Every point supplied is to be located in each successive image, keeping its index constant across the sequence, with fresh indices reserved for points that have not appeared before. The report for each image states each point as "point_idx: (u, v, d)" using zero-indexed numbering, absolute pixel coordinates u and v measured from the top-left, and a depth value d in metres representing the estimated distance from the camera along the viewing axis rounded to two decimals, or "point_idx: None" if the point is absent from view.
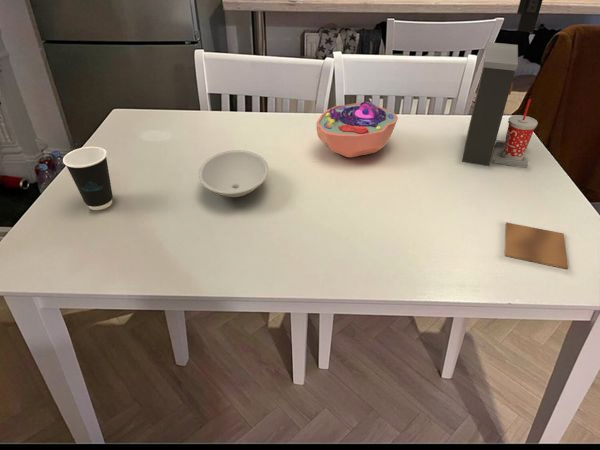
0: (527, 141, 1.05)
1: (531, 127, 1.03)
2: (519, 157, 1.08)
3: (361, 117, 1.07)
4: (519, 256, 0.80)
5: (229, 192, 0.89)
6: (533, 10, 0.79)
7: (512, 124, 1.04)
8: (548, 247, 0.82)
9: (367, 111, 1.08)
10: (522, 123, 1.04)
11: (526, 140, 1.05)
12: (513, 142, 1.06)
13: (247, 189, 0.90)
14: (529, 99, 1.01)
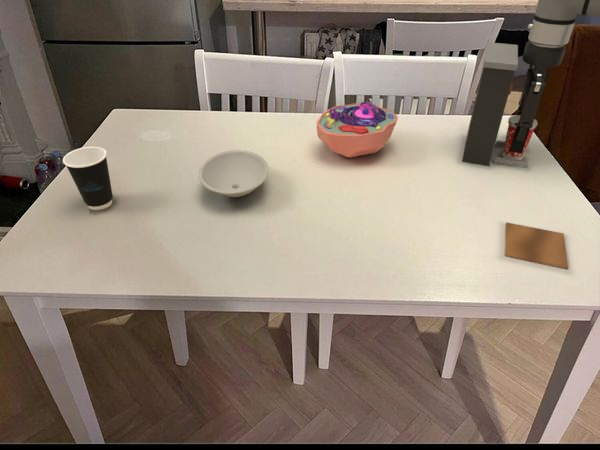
0: (527, 141, 1.05)
1: None
2: (519, 157, 1.08)
3: (361, 117, 1.07)
4: (519, 256, 0.80)
5: (229, 192, 0.89)
6: (521, 139, 1.02)
7: (512, 124, 1.04)
8: (548, 247, 0.82)
9: (367, 111, 1.08)
10: None
11: (526, 140, 1.05)
12: None
13: (247, 189, 0.90)
14: None
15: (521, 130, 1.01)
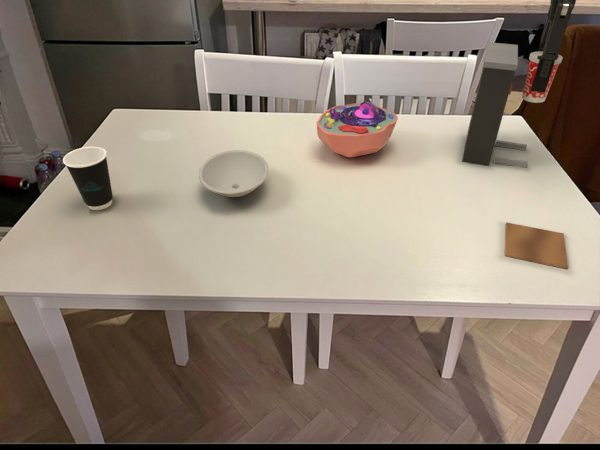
0: (550, 79, 0.95)
1: (555, 62, 0.92)
2: (541, 98, 0.97)
3: (361, 117, 1.07)
4: (519, 256, 0.80)
5: (229, 192, 0.89)
6: (545, 75, 0.92)
7: (534, 59, 0.93)
8: (548, 247, 0.82)
9: (367, 111, 1.08)
10: None
11: None
12: None
13: (247, 189, 0.90)
14: None
15: (545, 64, 0.90)
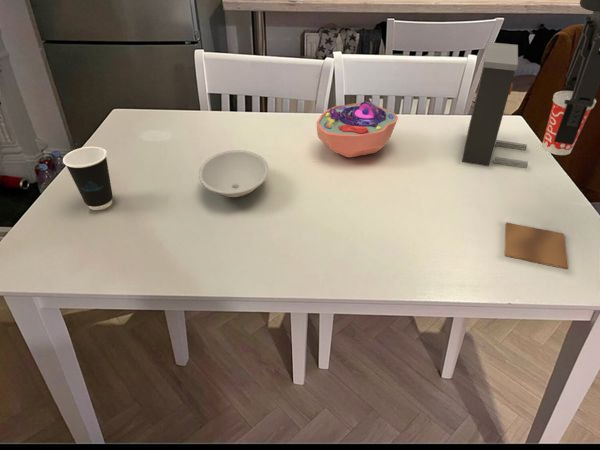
0: (580, 127, 0.74)
1: (588, 107, 0.71)
2: (567, 150, 0.76)
3: (361, 117, 1.07)
4: (519, 256, 0.80)
5: (229, 192, 0.89)
6: (574, 124, 0.71)
7: (559, 103, 0.73)
8: (548, 247, 0.82)
9: (367, 111, 1.08)
10: None
11: None
12: None
13: (247, 189, 0.90)
14: None
15: (574, 111, 0.70)
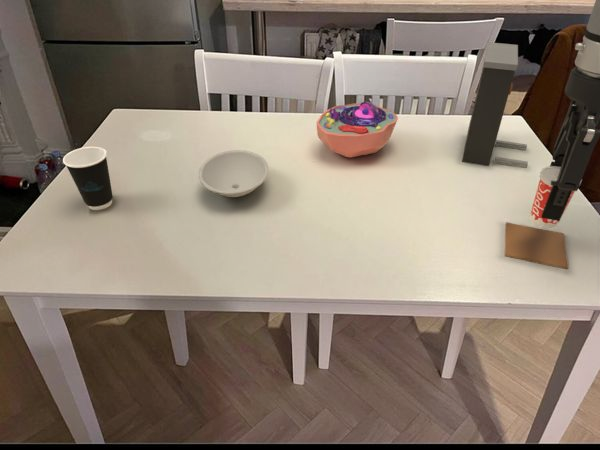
0: (566, 204, 0.76)
1: None
2: (554, 224, 0.78)
3: (361, 117, 1.07)
4: (519, 256, 0.80)
5: (229, 192, 0.89)
6: (560, 204, 0.72)
7: (546, 181, 0.74)
8: (548, 247, 0.82)
9: (367, 111, 1.08)
10: None
11: None
12: None
13: (247, 189, 0.90)
14: None
15: (560, 192, 0.71)
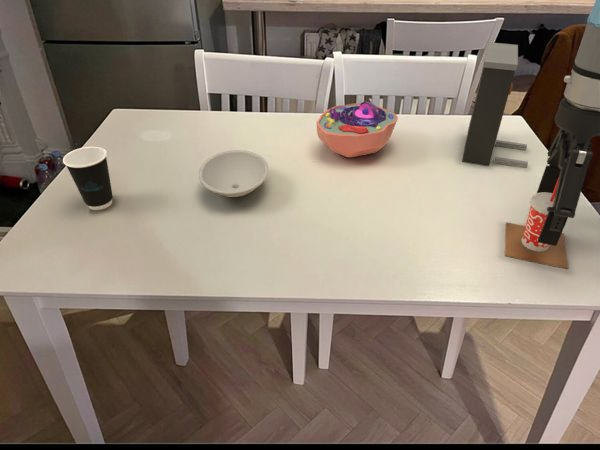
0: None
1: None
2: (545, 247, 0.81)
3: (361, 117, 1.07)
4: (519, 256, 0.80)
5: (229, 192, 0.89)
6: (556, 230, 0.72)
7: (536, 208, 0.77)
8: None
9: (367, 111, 1.08)
10: (550, 206, 0.77)
11: None
12: (537, 229, 0.79)
13: (247, 189, 0.90)
14: None
15: (557, 218, 0.70)
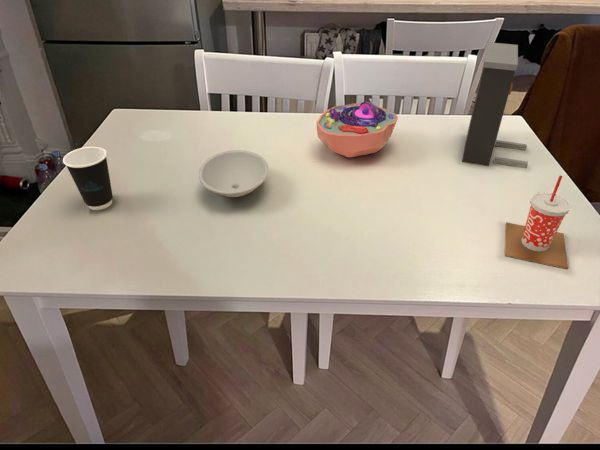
0: (556, 229, 0.79)
1: (562, 213, 0.76)
2: (545, 247, 0.81)
3: (361, 117, 1.07)
4: (519, 256, 0.80)
5: (229, 192, 0.89)
6: None
7: (536, 208, 0.77)
8: None
9: (367, 111, 1.08)
10: (550, 206, 0.77)
11: (555, 227, 0.78)
12: (537, 229, 0.79)
13: (247, 189, 0.90)
14: (560, 176, 0.75)
15: None
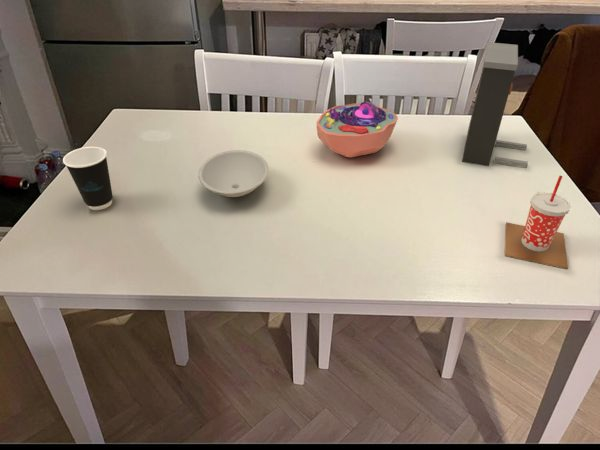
0: (556, 229, 0.79)
1: (562, 213, 0.76)
2: (545, 247, 0.81)
3: (361, 117, 1.07)
4: (519, 256, 0.80)
5: (229, 192, 0.89)
6: None
7: (536, 208, 0.77)
8: None
9: (367, 111, 1.08)
10: (550, 206, 0.77)
11: (555, 227, 0.78)
12: (537, 229, 0.79)
13: (247, 189, 0.90)
14: (560, 176, 0.75)
15: None
